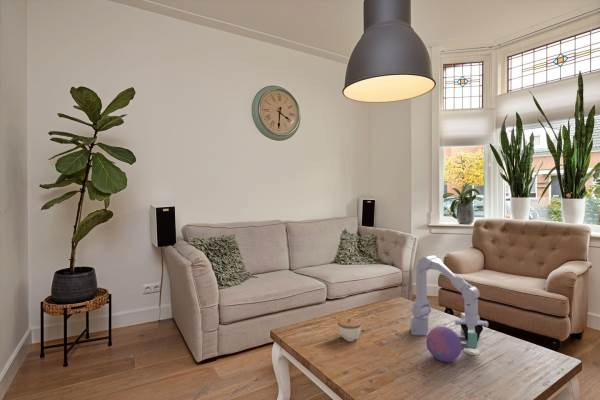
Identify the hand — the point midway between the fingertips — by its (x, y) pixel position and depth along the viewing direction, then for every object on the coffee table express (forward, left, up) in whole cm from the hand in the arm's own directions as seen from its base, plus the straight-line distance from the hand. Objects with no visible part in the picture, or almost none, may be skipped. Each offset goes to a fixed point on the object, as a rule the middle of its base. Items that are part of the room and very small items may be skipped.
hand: (471, 339), depth 158 cm
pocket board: (-6, +9, -6) cm, 12 cm away
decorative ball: (-15, -10, -6) cm, 19 cm away
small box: (+6, +22, -6) cm, 24 cm away
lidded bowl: (-59, +6, -6) cm, 60 cm away
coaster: (0, 0, -6) cm, 6 cm away
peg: (0, 0, -3) cm, 3 cm away
